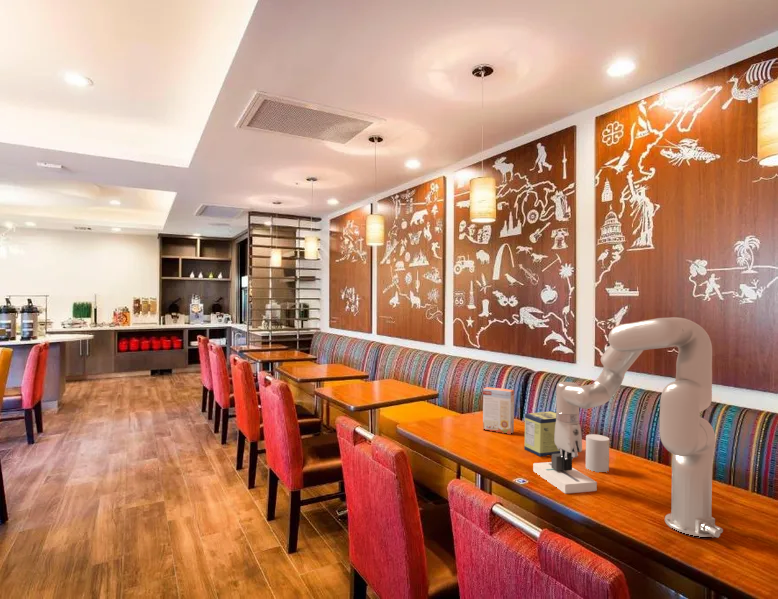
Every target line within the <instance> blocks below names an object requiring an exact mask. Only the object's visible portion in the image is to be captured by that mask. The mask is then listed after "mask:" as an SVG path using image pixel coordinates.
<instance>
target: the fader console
mask: <svg viewBox="0 0 778 599" xmlns="http://www.w3.org/2000/svg"><path fill="white" fill-rule="evenodd" d="M532 466H533V467H532V470H533V471H532V472H534V473H535V474H536V473H537V475H538V476H539V475H540V476H539V477H541V478H542V479H544V480H545V481H546V480H547V482H548V483H549V484H551V485H552V486H554V487H557V488H556V489H558V490H560V491H561V492H562V493H564V494H575V493H586V492H597V489H598V488H597V487H598V486H597V485H598V482H597V481H595V480H594V479H592V478H591V477H589V476H588V475H585V474H584V473H582V472H580V471H579V470H577V469H576V468H574V467H572V470H559V471H556V470H554V469H553V468H552V461H549V462H548V461H547V462H546V461H545V462H534V463H533V465H532Z"/></svg>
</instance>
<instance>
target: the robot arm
mask: <svg viewBox="0 0 778 599" xmlns="http://www.w3.org/2000/svg"><path fill="white" fill-rule="evenodd" d="M607 340H608V343H609V346H608V347H607V349H606V350H605V351H604V352H603V354H602V355H601V357H600V362H601V365H602V366H603V368H602V371H601V372H600V375H599V376H598V377H597V378H596V379H595V380H594V382H593V383H592V384H585V385H579V384H578V383H576V382H573V381H560V382H558V383H557V384H556V396H555V397H556V400H555V401H556V408H555V409H556V410H555V412H556V424H555V434H554V441H555V445H556V446H557V448H558V449H559V450H560V455H561V457H562V458H561V468H562V469H563V470H572V468H573V459H574V458H578V457H579V454H578V453H581V452H582V451H583V439H582V428H581V424H580V409H584V410H586V409H587V410H588V409H593V408H595V407H599V406H603V405H605V404H607V403H608V402H609V401H610V400H611V399H612V398H613V396H614V395H615V394H616V393H617V392H618V390H619V389H620V387H621V385H622V383H623V381H624V379H625V375H626V373H627V371H628V370H629V369H630V368H631V366H632V365H633V364H634V363H635V361H636V360H637V359H638V358H639V357H640V355H642V353H643V352H644V351H647V350H655V349H665V348H671V347H675V348H677V350H678V354H677V358H676V363H675V369H676V371H675V372H676V373H675V380H674V381H672V382H669V383H668V384H667V385H666V386H664V388H663V390H662V392H661V395H660V401H659V429H658V430H659V438H660V441H661V444H662V446H663V447H664V448H665V450H667V452H669V453H671V454H672V459H671V510H670V511H671V512H670V513H667V514H666V515H665V516H664V522H665V524H666V525H667V526H668V527H669V528H670V529H672V528H673V529H672V530H674V529H675V530H674V531H676V530H677V531H676V532H678V531H679V533H680V532H682V533H681V534H683V533H685V534H684V535H686V534H689V535H688V536H690V535H693V536H692V537H694V536H699V537H698V538H700V537H712V538H719V537H721V534H722V533H723V532H724V528H722V527H720V526H718V525H716V518H714V517H713V516H712V506H713V505H712V502H713V500H712V497H713V495H712V494H713V493H712V492H713V490H712V489H713V484H712V483H713V462H714V454H715V453H714V451H715V445H716V434H715V430H714V428H713V426H712V425H711V423H710V422H709V421H708V420H707V419H705V418H703V417H702V416H701V415H700V413H701V412H703V411H705V410H707V409H708V408H709V407H710V406H711V404H712V400H713V393H712V392H713V345H712V341H711V338H710V336H709V334H708V332H707V331H706V330H705V329H704V327H702V326H701V325H700V324H698V323H696V322H695V321H692V320H691V319H688V318H684V317H676V316H673V317H671V316H670V317H657V318H651V319H646V320H640V321H639V320H638V321H635V322H627V323H621V324H617V325H616V326H614V327H612V329H611V330H610V331H609V333H608V338H607Z"/></svg>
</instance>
